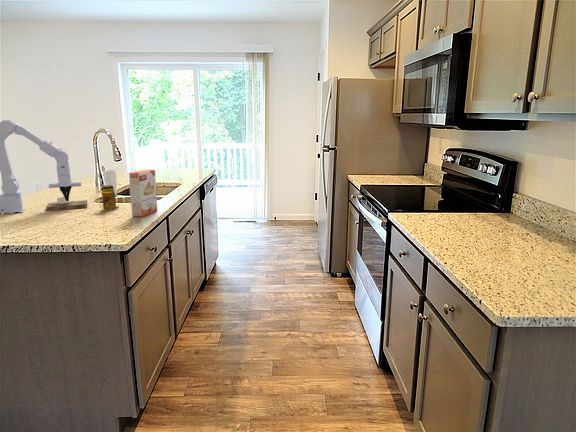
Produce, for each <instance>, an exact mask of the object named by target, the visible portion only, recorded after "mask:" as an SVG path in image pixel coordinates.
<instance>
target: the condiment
mask: <svg viewBox="0 0 576 432" xmlns="http://www.w3.org/2000/svg"><path fill="white" fill-rule="evenodd" d="M101 198H102V209H101V211H102V212H103V211H116V210H117V211H118V210H119V207H120V206H119V205H118V206H117V203H116V202H117V201H116V195H115V191H114V189H113V186H111V185H108V186H106V185H102V187H101ZM116 206H117V207H116Z"/></svg>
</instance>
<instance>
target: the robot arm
mask: <svg viewBox="0 0 576 432" xmlns="http://www.w3.org/2000/svg"><path fill="white" fill-rule="evenodd" d="M13 134H14V135H17V136H23V137H24V138H26V139H27V140H29V141H30V142H32V143H34V144H35V145H37V146H38V147H39V150H40V151H42V152H43V153H44V154H46V155H47V156H49V157H51V158H54V160H55V161H56V173H57V183H56V182H55V183H48V188H49V189H55V188H57V189H58V188H59V191H60V192H61V193H62V195H63V196H64V197H65V202H69V200H70V194H71V190H72V187H73V188H74V187H82V182H81V181H80V182H79V181H77V182H72V177H71V169H70V165H69V163H70V162H69V155H68V153H67V152H66V151H65V150H62V148H61V147H58V146H56V145H55V144H53V143H54V142H53V141H51V140H50V141H49V140H43V139H42V138H40V137H38V136H37V135H36V134H34V133H33V132H32V131H30V130H28V128H26V127H24V126H23V125H21V124H18V123H16V122H15V121H13V120H10V119H5V120H1V121H0V175H1V183H2V184H1V187H0V188H1V191H2V194H0V213H9V214H15V213H14V212H22V213H24V212H25V210H23V209H24V206H23V200H22V193H21V192H20V190H19V189H20V183H19V182H18V180H16V177H15V174H14V172H13V169H12V164H11V162H10V158H9V153H8V150H7V146H6V145H7V144H6V143H5V141H6V140H7V139H8V137H9V136H10V135H13ZM23 211H24V212H23Z"/></svg>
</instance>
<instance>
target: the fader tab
mask: <svg viewBox="0 0 576 432" xmlns="http://www.w3.org/2000/svg"><path fill="white" fill-rule="evenodd" d="M56 200H57V202H58V204H65V202H66V200H65V197H64V195H63V196H62V195H61V196H57V197H56Z"/></svg>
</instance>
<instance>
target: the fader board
mask: <svg viewBox="0 0 576 432" xmlns="http://www.w3.org/2000/svg"><path fill="white" fill-rule="evenodd" d="M87 208H88V200H87V199H85V200H84V199H83V200H71V201H65V204H58V202H48V203H47V205H46V208H45V209H46V212H50V211H49V210H53V211H63V210H66V211H67V210H74V209H76V210H77V209H87Z"/></svg>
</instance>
